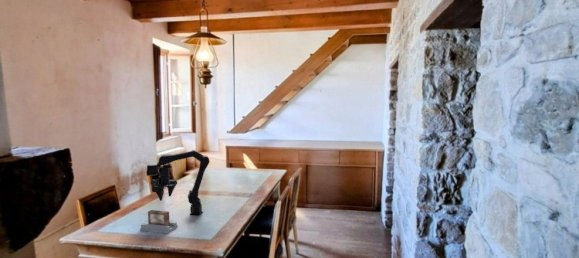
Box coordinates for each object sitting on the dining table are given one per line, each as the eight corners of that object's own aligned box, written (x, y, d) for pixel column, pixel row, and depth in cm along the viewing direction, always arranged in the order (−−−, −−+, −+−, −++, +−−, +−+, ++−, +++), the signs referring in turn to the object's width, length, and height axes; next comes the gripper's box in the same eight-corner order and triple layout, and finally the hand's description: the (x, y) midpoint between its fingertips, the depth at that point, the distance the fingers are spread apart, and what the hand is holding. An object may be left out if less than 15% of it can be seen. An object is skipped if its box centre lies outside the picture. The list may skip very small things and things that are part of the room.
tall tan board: (169, 226, 185) (169, 211, 185) (166, 228, 182) (165, 213, 182) (151, 224, 188) (151, 209, 187) (148, 226, 185) (147, 211, 185)
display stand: (177, 226, 188) (177, 221, 188) (167, 233, 178) (167, 228, 178) (151, 224, 192) (151, 218, 192) (140, 230, 183) (139, 225, 182)
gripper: (162, 170, 213) (163, 193, 215) (143, 177, 195) (144, 202, 197) (177, 171, 211) (178, 194, 212) (159, 178, 193) (160, 203, 194)
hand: (165, 198), depth 204 cm, fingers open, 9 cm apart
